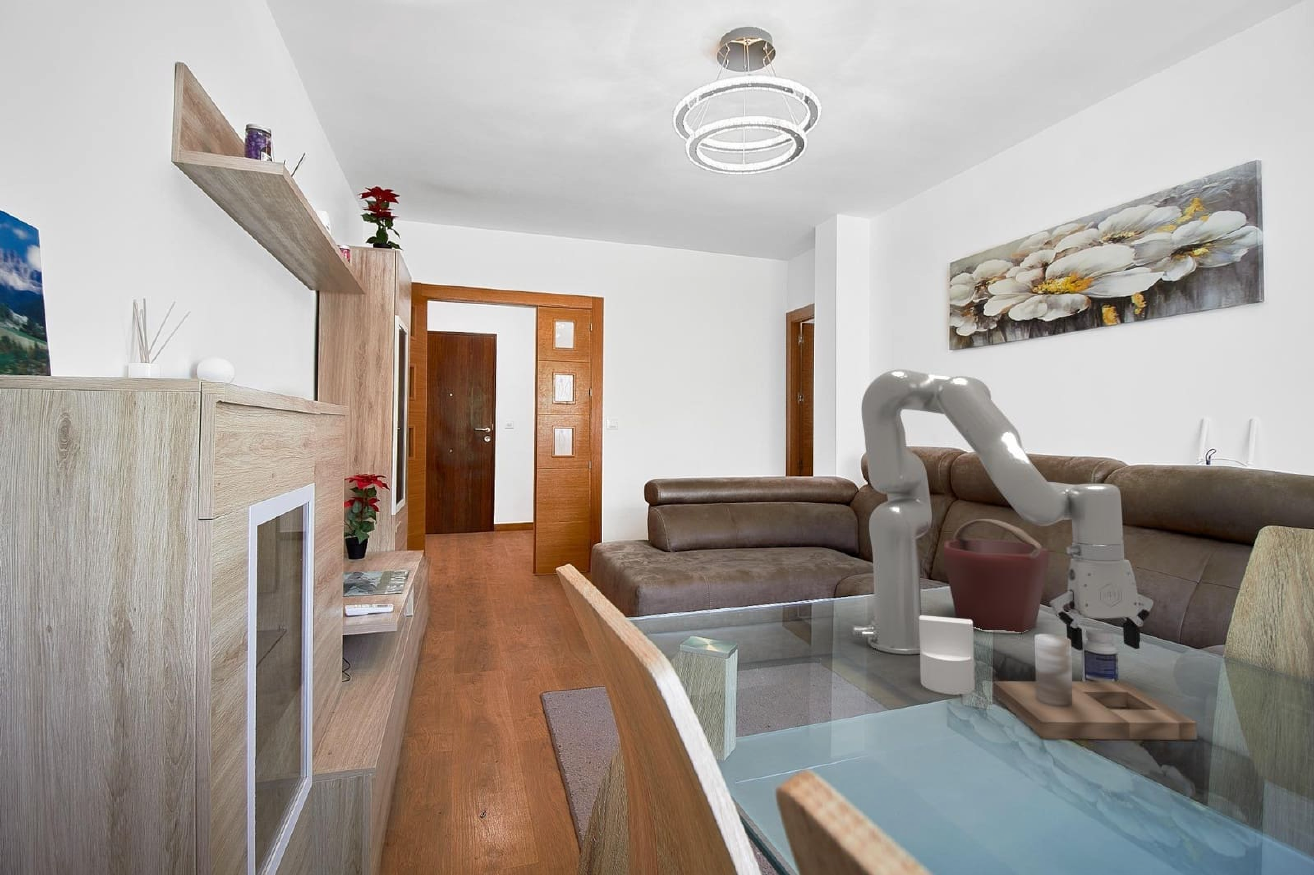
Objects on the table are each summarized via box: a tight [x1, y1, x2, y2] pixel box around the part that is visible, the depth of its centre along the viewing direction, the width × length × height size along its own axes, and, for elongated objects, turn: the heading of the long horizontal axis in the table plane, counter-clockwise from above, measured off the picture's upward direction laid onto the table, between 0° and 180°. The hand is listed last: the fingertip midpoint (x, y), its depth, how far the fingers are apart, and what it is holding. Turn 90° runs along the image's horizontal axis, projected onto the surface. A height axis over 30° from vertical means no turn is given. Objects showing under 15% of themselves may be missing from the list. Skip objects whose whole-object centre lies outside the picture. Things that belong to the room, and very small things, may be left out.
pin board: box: [992, 633, 1198, 741], centre depth 103 cm, size 22×16×12 cm
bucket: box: [943, 518, 1050, 633], centre depth 153 cm, size 24×22×25 cm
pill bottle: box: [1081, 627, 1119, 682], centre depth 115 cm, size 5×5×10 cm
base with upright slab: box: [919, 614, 975, 696], centre depth 117 cm, size 9×9×12 cm
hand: (1103, 647), depth 115 cm, fingers open, 9 cm apart
